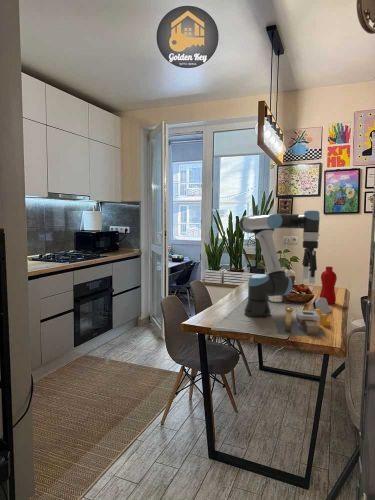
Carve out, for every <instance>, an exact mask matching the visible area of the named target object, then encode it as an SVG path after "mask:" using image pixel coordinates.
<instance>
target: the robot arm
mask: <svg viewBox="0 0 375 500" xmlns="http://www.w3.org/2000/svg"><path fill="white" fill-rule="evenodd" d="M320 220H321V218H320V211H318V210H305V211H304V212H303V214H300V213H299V214H293V213H292V214H291V213H290V214H289V213H287V214H284V213H270V214H268V215H267V214H261V215H260V214H247V215H244V216H242V217H241V218H240V219H239V222H238V225H239V228H240V230H241V231H243V232H244V233H247V234H254V237H255V238H256V239H257V240H258V242H259V245H260V250H261V253H262V256H263V257H262V258H263V261H264V264H265V269H266V271H267V272H266V273H267V274H266V273H257V274H252V275H250V276H249V278H248V283H247V285H248V286H247V287H248V288H247V289H248V291H247V302H246V305H245V308H244V315H245V316H248V317H252V318H263V319H265V318H267V317H270V316H271V315H272V312H271V308H270V304H269V297H279V296H280V297H281V296H286V295H289V294H290V293H291V291H292V289H293V281H292V278H291V276H289V275H287V274H286V271H285V270H283V269H282V267H281V266H282V265H281V263H280V260H279V256H278V255H279V254H278V253H277V249H276V246H275V242H274V239H273V238H274V237H273V235H274V231H275V230H276V229H303V232H302V240H303V241H302V248H303V249H304V252H303V258H302V262H301V263H302V266H303V267H302V279H303V280H304V279H305V280H308V284H313V285H314V284H316V271H317V270H318V266H317V254H316V253H317V251H316V250H315V249H318V248H319V237H320V233H319V232H320Z"/></svg>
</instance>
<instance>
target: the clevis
mask: <svg viewBox="0 0 375 500" xmlns="http://www.w3.org/2000/svg"><path fill="white" fill-rule="evenodd" d="M295 311H296V312H295V315H296V316H295V322H296V324H297V326H298V328H299V329H306V334H307V335H314V336H318V330H320V329H321V327H320V326H321V325H320V324H319V323H318V322H317V320H318V321H320V316H319V315H318V313H317V312H316V311H313V310H306V309H305V310H303V309H296V310H295Z"/></svg>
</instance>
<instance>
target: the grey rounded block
mask: <svg viewBox="0 0 375 500" xmlns="http://www.w3.org/2000/svg"><path fill="white" fill-rule="evenodd" d="M310 304H311V309H312V310H311V311H314V309H319V310H320V314H327V315H328V314H329V313H331V312H332V311H333V310H332V307H330V304H328V303H327V300H326V298H320V297H318V298H315V299H313V300H312V302H311V303H310Z"/></svg>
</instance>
